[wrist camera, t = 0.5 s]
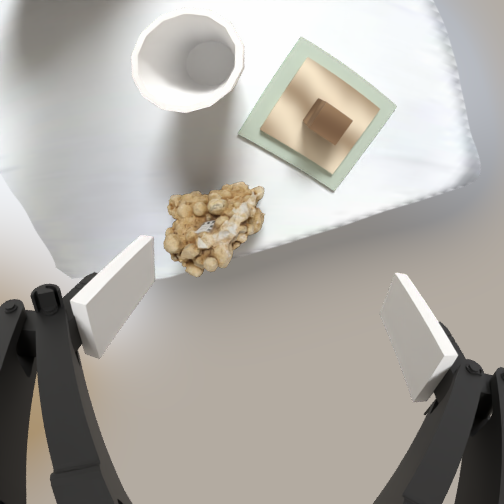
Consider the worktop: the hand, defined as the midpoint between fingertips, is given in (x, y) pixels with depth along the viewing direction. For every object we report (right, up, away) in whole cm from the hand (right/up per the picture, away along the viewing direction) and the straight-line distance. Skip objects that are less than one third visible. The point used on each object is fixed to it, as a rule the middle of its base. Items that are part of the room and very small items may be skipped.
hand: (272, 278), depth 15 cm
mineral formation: (-5, +9, +25) cm, 27 cm away
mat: (+7, +18, +18) cm, 27 cm away
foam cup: (-6, +24, +15) cm, 29 cm away
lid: (+7, +18, +18) cm, 26 cm away
